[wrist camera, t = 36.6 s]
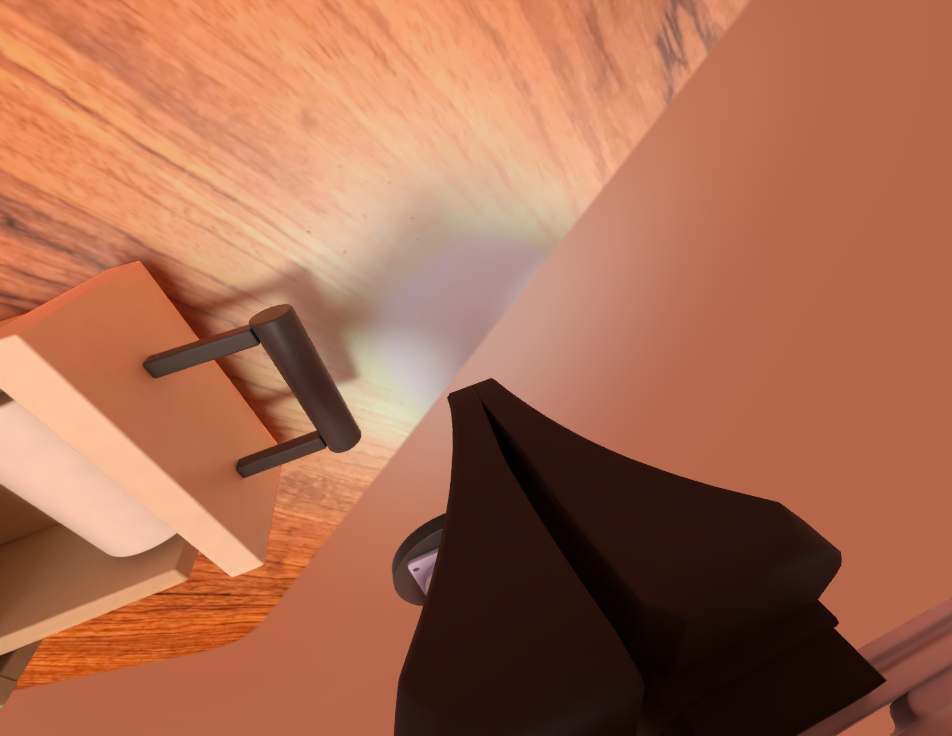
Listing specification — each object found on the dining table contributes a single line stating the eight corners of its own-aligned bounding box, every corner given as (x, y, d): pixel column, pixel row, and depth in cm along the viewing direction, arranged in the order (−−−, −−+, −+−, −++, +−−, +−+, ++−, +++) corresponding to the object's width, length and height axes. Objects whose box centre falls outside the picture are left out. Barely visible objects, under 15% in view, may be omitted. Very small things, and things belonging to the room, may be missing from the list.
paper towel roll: (-125, 428, 10) (44, 342, 13) (79, 555, 14) (171, 464, 17) (-30, 424, 9) (129, 332, 12) (163, 563, 13) (244, 464, 16)
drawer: (273, 221, 14) (236, 269, 9) (373, 419, 19) (385, 516, 14) (-286, 379, 11) (-782, 569, 6) (17, 550, 17) (-116, 720, 12)
